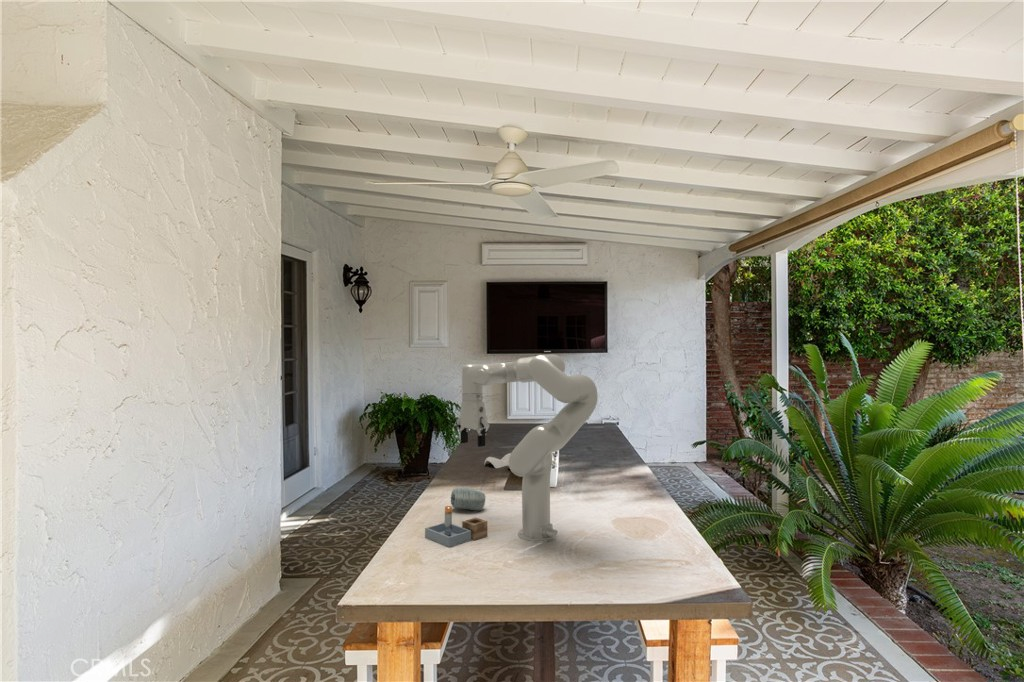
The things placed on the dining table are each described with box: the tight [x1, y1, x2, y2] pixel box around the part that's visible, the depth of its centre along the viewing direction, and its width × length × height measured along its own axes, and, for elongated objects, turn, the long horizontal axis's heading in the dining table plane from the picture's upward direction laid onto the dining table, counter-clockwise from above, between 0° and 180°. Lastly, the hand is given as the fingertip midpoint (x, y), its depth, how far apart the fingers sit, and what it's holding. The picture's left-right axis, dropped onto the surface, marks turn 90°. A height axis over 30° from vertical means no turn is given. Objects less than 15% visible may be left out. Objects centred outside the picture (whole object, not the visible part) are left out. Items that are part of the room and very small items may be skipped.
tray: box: [424, 522, 472, 548], centre depth 189 cm, size 13×9×3 cm
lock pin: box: [444, 505, 453, 537], centre depth 188 cm, size 2×2×10 cm
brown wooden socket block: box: [461, 517, 488, 541], centre depth 191 cm, size 6×6×5 cm
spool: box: [450, 486, 486, 512], centre depth 220 cm, size 14×10×10 cm
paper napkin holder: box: [483, 452, 512, 469], centre depth 287 cm, size 25×19×10 cm
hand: (472, 444), depth 206 cm, fingers open, 9 cm apart
